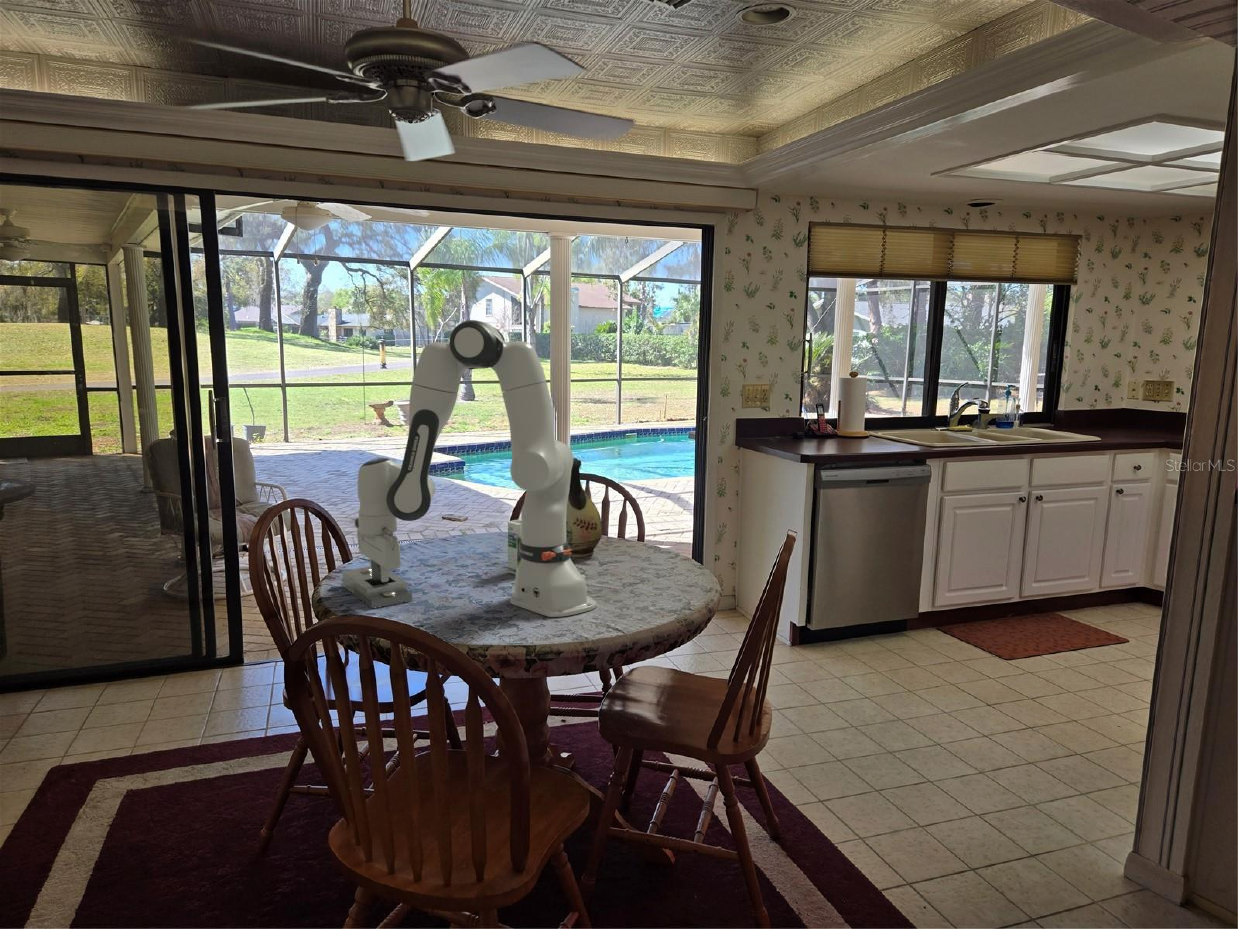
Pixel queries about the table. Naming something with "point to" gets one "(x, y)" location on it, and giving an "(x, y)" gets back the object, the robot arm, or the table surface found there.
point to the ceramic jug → (581, 518)
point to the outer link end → (363, 582)
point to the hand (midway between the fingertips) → (380, 578)
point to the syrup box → (514, 545)
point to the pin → (376, 574)
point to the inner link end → (385, 598)
